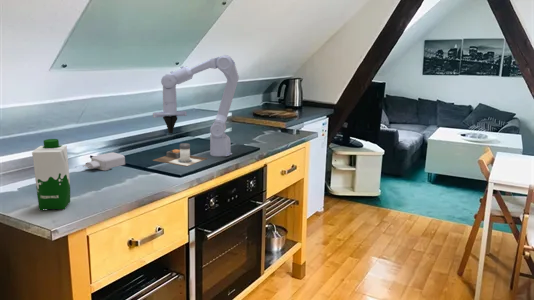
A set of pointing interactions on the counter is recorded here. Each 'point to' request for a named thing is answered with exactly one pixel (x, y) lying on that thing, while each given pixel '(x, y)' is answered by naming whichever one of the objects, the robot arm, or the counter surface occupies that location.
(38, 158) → the milk carton
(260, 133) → the counter surface
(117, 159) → the charger
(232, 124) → the counter surface
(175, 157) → the board
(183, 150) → the salt shaker
